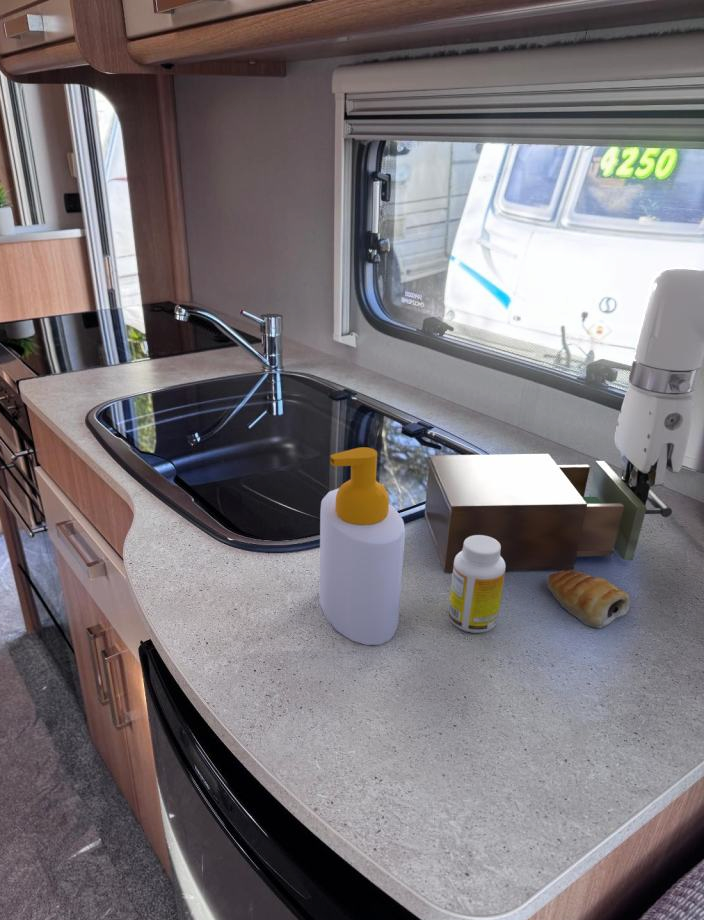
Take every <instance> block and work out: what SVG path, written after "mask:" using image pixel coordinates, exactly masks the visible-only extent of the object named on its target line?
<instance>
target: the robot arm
mask: <svg viewBox="0 0 704 920" xmlns="http://www.w3.org/2000/svg"><path fill="white" fill-rule="evenodd" d="M703 360H704V269H697V268H689V267H670V268H664V269H661V270H660V271H658V272H657V273H656V274H654V276H653V277H652V278H651V281H650V284H649V288H648V292H647V297H646V301H645V306H644V310H643V314H642V319H641V324H640V328H639V332H638V337H637V341H636V345H635V349H634V354H633V358H632V362H631V367H630V370H629V375H628V379H627V386H628V387H627V389H626V391H625V395H624V399H623V400H622V404H621V408H620V411H619V415H618V419H617V422H616V428H615V432H614V439H613V441H614V445H615V447H616V448H617V450H618V452H619V454H620V456H621V457H622V466H621V471H620V473H621V474H620V476H621V480H622V481H623V482H624V483H625V484H626V485H627V486H628V487H629V489H630V490H631V491H632V492H633V493H634V494H635V495H636V496H637V497H638V498H639V499H640V501H641V502H642V503H643V504H644V505H645V506H647V502H648V500H647V497H648V494H649V490H650V488H652V487H659V486H660V487H664V484H665V481H666V480H665V479H666V474H667V473H666V472H667V470H668V471H669V472H670V473H672V474H678V473H679V472H680V471H681V469H682V466H683V463H684V460H685V454H686V451H687V446H688V442H689V438H690V437H689V436H690V432H691V425H692V418H693V411H694V410H693V409H694V397H693V395H694V393H695V390H696V386H697V383H698V379H699V376H700V372H701V368H702V364H703Z"/></svg>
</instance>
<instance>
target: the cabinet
mask: <svg viewBox="0 0 704 920" xmlns="http://www.w3.org/2000/svg"><path fill="white" fill-rule="evenodd" d="M428 459H429V461H428V472H427V481H426V482H427V483H426V485H427V486H426V493H425V494H426V495H425V505H424V516H423V517H424V519H425V521H426V525H427V527H428V530H429V533H430V536H431V539H432V542H433V545H434V547H435V550H436V553H437V556H438V559H439V561H440V565H441V567H442V570H443V573H444V574H448V573H449V574H451V573H452V574H453V566H454V559H455V557H456V555H457V554H458V553H459V552H461V551H462V549H463V544H464V541H465V539H466V538H468V537H470V536H474V535H484V536H489V537H491V538H494V539H495V540H497V541H498V542H499V543H500V545H501V550H500V556H501V557H502V558H503V560H504V562H505V573H506V572H547V571H548V572H549V571H556V572H558V571H564V570H569V571H574V569H575V565H576V560H577V557H576V555H577V551H578V546H579V541H580V537H581V532H582V527H583V523H584V518H585V513H586V509H587V503H586V502H585V500H584V499H583V498H582V496H581V495H580V494H579V493H578V491H577V490H576V489H575V487H574V486H573V485H572V484H571V482H570V481H569V480H568V478H567V477H566V476H565V474H564V473H563V472H562V471H561V469H560V468H559V467H558V465H559V464H558V463H556V461H555V460H554V459H553V458H552V456H551V455H550V454H549V453H520V454H519V453H518V454H516V453H514V454H508V453H507V454H435V455H433V454H432V455H429V458H428Z"/></svg>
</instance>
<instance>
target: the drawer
mask: <svg viewBox="0 0 704 920" xmlns="http://www.w3.org/2000/svg"><path fill="white" fill-rule="evenodd" d="M557 465H558V467H559V468H560V469H561V471H562V472H563V473H564V474H565V476H566V477H567V478H568V480H569V481H570V482H571V484H572V485H573V486H574V487H575V489H576V490H577V491H578V493H579V494H580V495H581V496H582V497H585V493H586V489H587V483H588V479H589V474H590V469H591V466H590V465H589V464H557ZM622 480H623V479H622V478H620V477H619V475H618V474H617V473H616V472H615V471H614V470H613V469H612V468H611V467H610V466H609V464H608V463H606V461H605V460H595V464H594V469H593V473H592V477H591V482H590V487H589V493H588V496H587V497H597V498H598V499H599V501H600V502H601V503H602V504H587V509H586V513H585V518H584V523H583V527H582V532H581V537H580V541H579V546H578V551H577V555H576V558H578V557H612V556H613V552H614V550H615V552H617V554H618V555H619V556H620V558H621V559H622V560H623V561H624V562H625V561H627V562H630V561H631V562H632V561H634V557H635V553H636V550H637V546H638V544H639V543H638V542H639V538H640V536H641V532H642V531H641V530H642V527H643V523H644V519H645V516H646V515H660V516H661V517H663V518H668V517H671V515H672V514H673V513H672V512H673V510H672V508H671V507H670V506H669V505H668V504H667V503H666V502H665V501H664V500H663V499H662V498H661V497H660V496H659V494H657V493H656V492H655V491H654V490H653V489H652V487H650V490H649V494H648V497H647V502H648V503H649V504H650V505H651V506H652V507H647V505H644V504H643V503H642V502H641V501H640V499H639V498H638V497H637V496H636V495H635V494H634V493H633V492H632V491H631V490H630V489H629V487H628V486H627V485H626V484H625V483H624V482H623V481H622Z"/></svg>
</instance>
